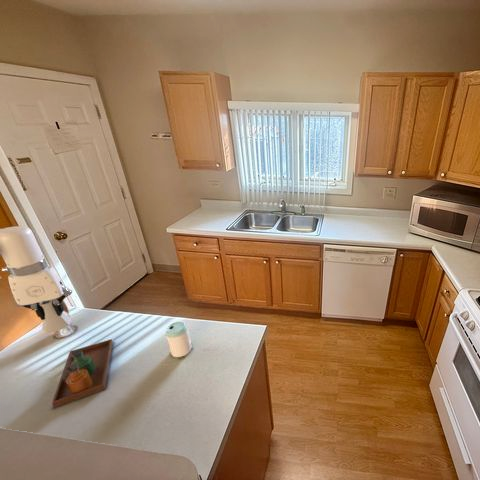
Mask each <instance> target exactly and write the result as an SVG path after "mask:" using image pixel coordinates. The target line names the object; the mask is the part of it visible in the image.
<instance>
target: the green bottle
mask: <svg viewBox="0 0 480 480" xmlns="http://www.w3.org/2000/svg"><path fill="white" fill-rule="evenodd" d="M78 349H79V350H76V349H75V350H76V351H74V352H73V353H72V356H73V357H74V358H75V360H74V361H73V362H72V364H78V366H79V370H81V369H86V370H87V371H88V373H89V375H92V374H93V373H94V372H95V370H96V366H95V364H94V362H93V360H92V357H91V356H90V355H83V351H82V350H81V349H80V348H78ZM72 364H71V365H72Z"/></svg>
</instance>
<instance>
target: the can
mask: <svg viewBox="0 0 480 480" xmlns="http://www.w3.org/2000/svg"><path fill="white" fill-rule="evenodd" d="M165 336H166V339H167V343H168V347H169V350H170V354H171V356H172V357H174V358H181V357H184V356H186V355H187V354H189V352H190V351H191V350H192V347H193V346H192V342H191V337H190V332H189V328H188V325H187V324H185V322H184V321H175V322H173V323H171V324H170V325H168V327H167V328H166V332H165Z"/></svg>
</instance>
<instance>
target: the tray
mask: <svg viewBox="0 0 480 480" xmlns="http://www.w3.org/2000/svg"><path fill="white" fill-rule="evenodd" d="M113 345H114V342H113V339H107V340H103V341H100V342H96V343H93V344H90V345H87V346H83V347H80V348H76V349H73V350H70V351H69V353H68V356H67V359H66V362H65V365H64V368H63V370H62V374H61V376H60V378H59V381H58V384H57V387H56V391H55V392H54V396H53V399H52V402H51V404H52V406H53V407H54V408H57V407H61V406H63V405H65V404H69V403H72V402H74V401H77V400H79V399H82V398H85V397H87V396H90V395H94V394H95V393H99V392H101V391H105V390H106V386H107V381H108V374H109V369H110V364H111V358H112V352H113V351H112V350H113ZM79 349H81V350H82V351H83V355H90V356H91V357H92V360H93V362H94V364H95V366H96V370H95V372H94V373H93V374H92V375H90V377H91V379H92V381H93V385H92V386H91V388H89V389H87V390H84V391H81V392H78V393H75V394H72V392H71V390H70V389H69V387H68V385H67V383H66V379H67V378H68V376H69V375H70V373H68V371H67V368H68V367H69V366H70V365H71V364H72V362H73V361H74V360H75V358H74V357H73V356H72V353H73V352H74V351H76V350H79Z"/></svg>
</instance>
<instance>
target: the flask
mask: <svg viewBox="0 0 480 480" xmlns="http://www.w3.org/2000/svg"><path fill="white" fill-rule="evenodd" d="M39 305H41V306H42V308H43V312H44V317H45V319H44V320H42V329H41V331H42V332H44V333H45V334H50V333H54V332H55V331H59V330H61V329H63V328H65V327H67V326H69V325H70V323H72V321H73V319H72V318H71V317H70V318H69V317H68V316H66V315H65V314H63V313H62V315H61V316H58V315H57V313H56V311H55V309H54V303H53V301H52V300H48V301H43V302H40V303H39Z"/></svg>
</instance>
